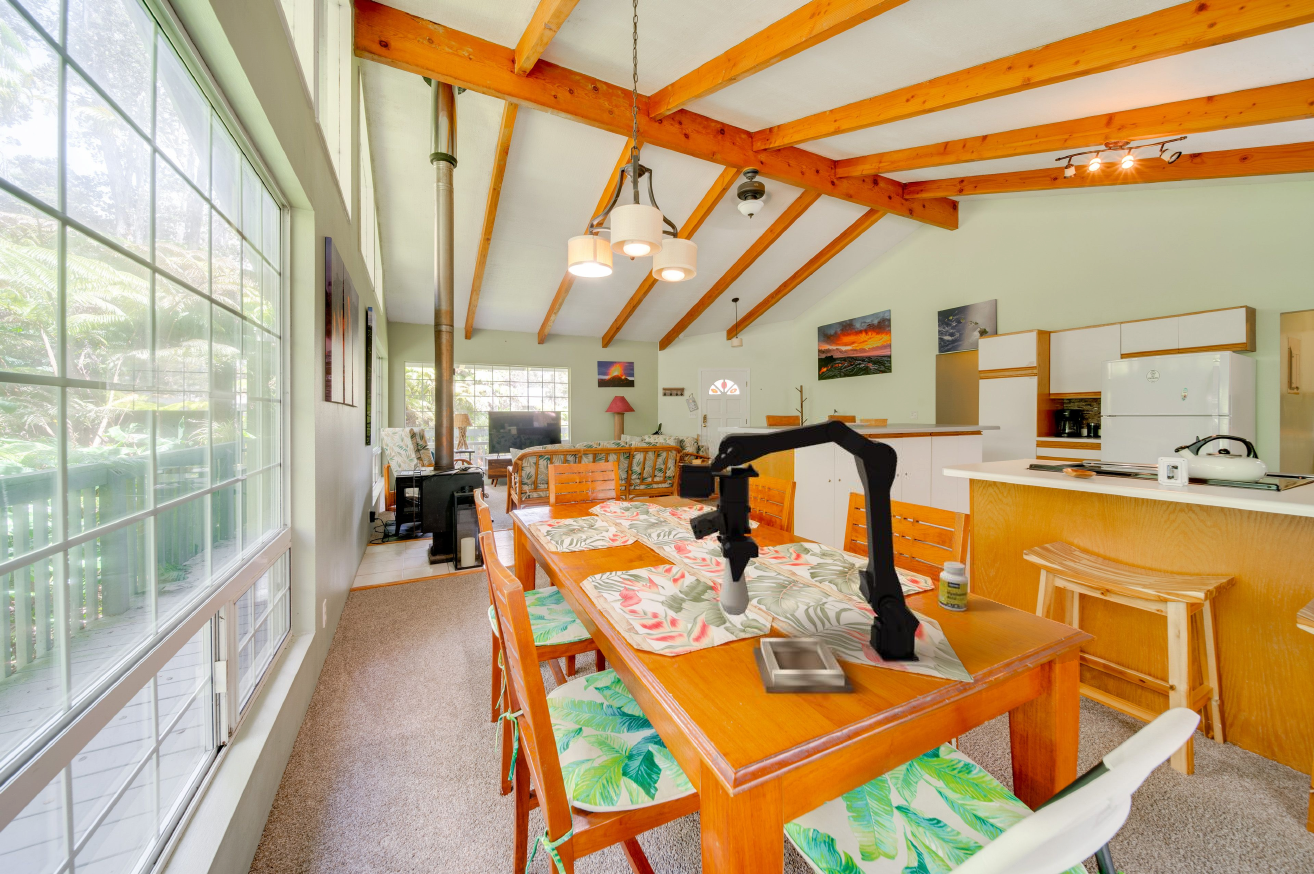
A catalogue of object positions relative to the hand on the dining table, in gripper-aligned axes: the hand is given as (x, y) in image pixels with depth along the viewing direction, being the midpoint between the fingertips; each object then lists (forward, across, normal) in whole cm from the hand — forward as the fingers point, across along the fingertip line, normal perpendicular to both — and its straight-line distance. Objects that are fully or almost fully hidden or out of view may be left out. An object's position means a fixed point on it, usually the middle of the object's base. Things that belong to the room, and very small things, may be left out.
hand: (734, 578), depth 92 cm
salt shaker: (+7, 0, 0) cm, 7 cm away
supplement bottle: (+13, -15, +51) cm, 55 cm away
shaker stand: (+13, +10, +10) cm, 19 cm away
